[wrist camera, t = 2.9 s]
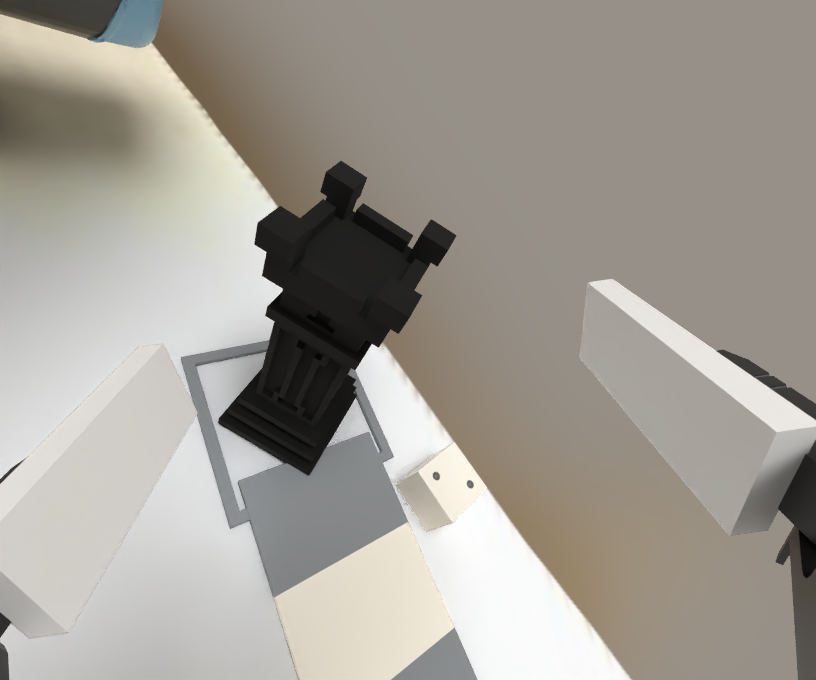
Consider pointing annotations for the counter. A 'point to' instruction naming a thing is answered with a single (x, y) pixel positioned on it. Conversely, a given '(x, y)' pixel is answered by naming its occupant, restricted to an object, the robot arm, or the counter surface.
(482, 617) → the counter surface
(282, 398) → the chess piece
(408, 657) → the track
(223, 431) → the counter surface
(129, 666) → the counter surface
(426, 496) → the die
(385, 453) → the grey flat square frame
